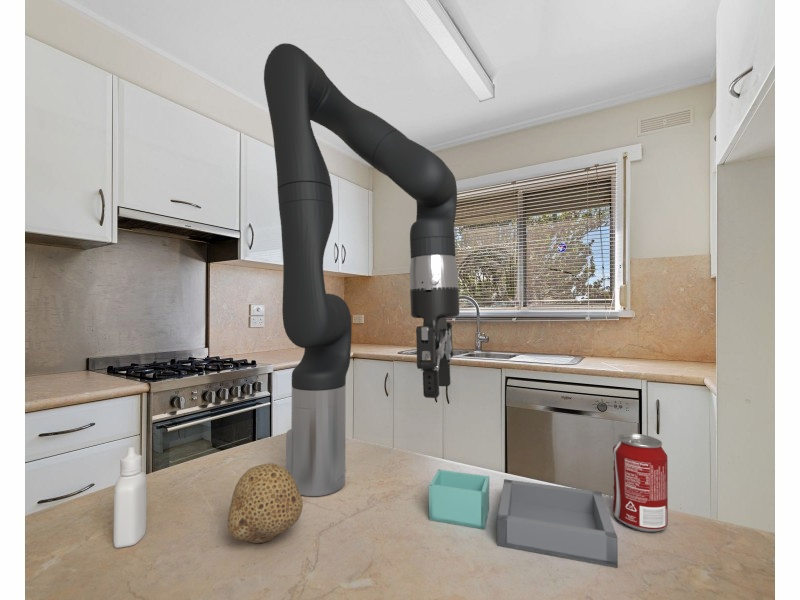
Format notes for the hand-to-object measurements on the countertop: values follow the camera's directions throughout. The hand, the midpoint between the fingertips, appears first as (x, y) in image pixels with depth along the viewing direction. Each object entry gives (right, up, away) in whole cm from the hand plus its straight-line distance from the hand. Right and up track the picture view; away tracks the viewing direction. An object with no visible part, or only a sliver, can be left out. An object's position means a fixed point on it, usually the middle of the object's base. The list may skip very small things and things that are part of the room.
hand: (437, 391), depth 63 cm
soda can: (+29, -18, -4) cm, 34 cm away
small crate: (+3, -18, -2) cm, 18 cm away
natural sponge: (-23, -18, -9) cm, 31 cm away
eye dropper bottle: (-42, -18, -8) cm, 47 cm away
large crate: (+15, -18, -6) cm, 24 cm away
